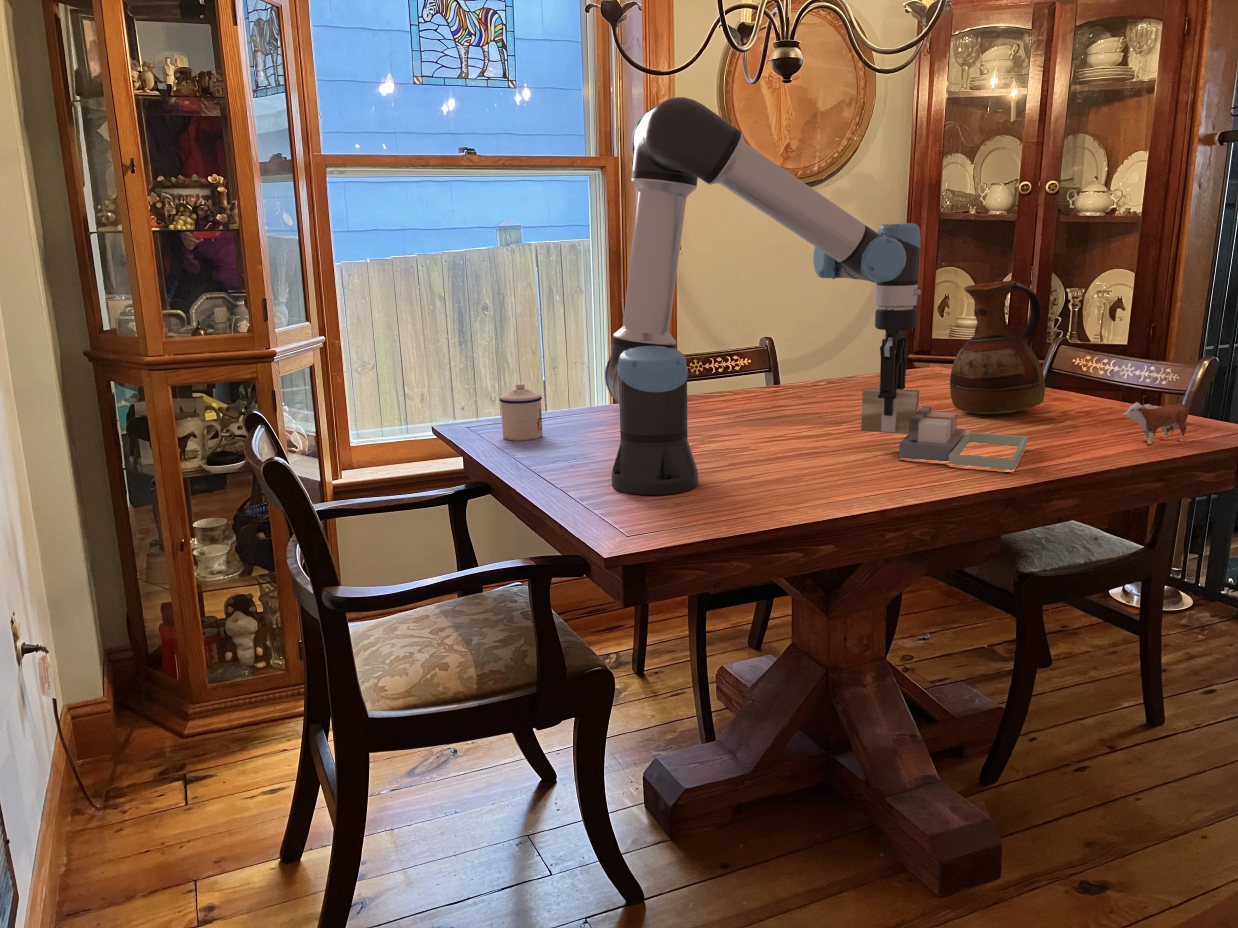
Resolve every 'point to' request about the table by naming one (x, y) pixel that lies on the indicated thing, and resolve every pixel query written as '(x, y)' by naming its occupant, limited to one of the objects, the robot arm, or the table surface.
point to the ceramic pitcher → (997, 357)
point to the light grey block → (934, 430)
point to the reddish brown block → (945, 416)
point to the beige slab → (905, 412)
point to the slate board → (929, 448)
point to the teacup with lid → (521, 414)
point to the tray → (988, 461)
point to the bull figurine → (1158, 418)
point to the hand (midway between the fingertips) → (891, 429)
